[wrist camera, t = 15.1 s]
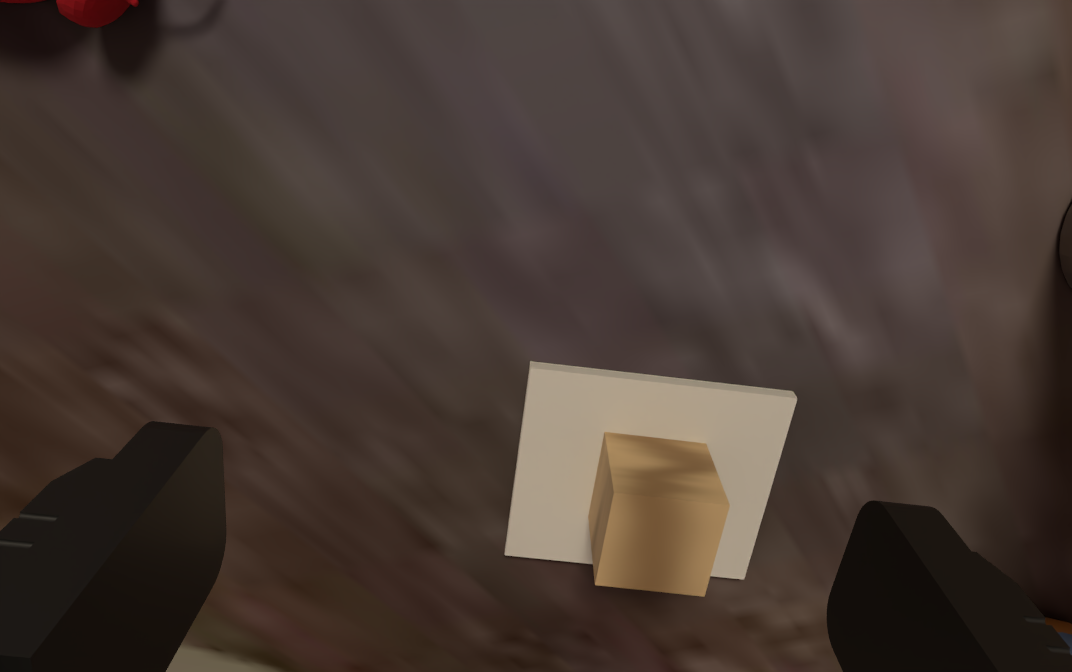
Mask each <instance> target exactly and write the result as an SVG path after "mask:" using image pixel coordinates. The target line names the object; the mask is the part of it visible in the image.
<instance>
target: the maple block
mask: <svg viewBox="0 0 1072 672" xmlns="http://www.w3.org/2000/svg"><path fill="white" fill-rule="evenodd" d="M729 507H730V504H729V502H728V499H727V496H726V494H725V491H724V489H723V486H722V483H721V481H720V478H719V476H718V473H717V470H716V468H715V465H714V463H713V460H712V457H711V455H710V452H709V450H708V447H707V444H706V443H697V442H689V441H680V440H672V439H663V438H654V437H646V436H637V435H628V434H620V433H611V432H604V437H603V442H602V447H601V452H600V458H599V463H598V468H597V473H596V478H595V483H594V489H593V494H592V499H591V504H590V509H589V515H588V520H589V530H590V540H591V550H592V561H593V571H594V581H595V585H599V586H609V587H618V588H628V589H637V590H647V591H656V592H666V593H675V594H685V595H694V596H705V593H706V589H707V586H708V582H709V578H710V575H711V571H712V568H713V564H714V561H715V557H716V554H717V550H718V546H719V543H720V539H721V536H722V532H723V529H724V525H725V521H726V518H727V514H728V511H729Z"/></svg>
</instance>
